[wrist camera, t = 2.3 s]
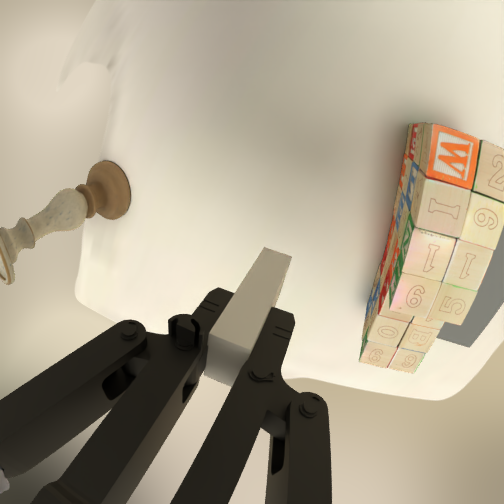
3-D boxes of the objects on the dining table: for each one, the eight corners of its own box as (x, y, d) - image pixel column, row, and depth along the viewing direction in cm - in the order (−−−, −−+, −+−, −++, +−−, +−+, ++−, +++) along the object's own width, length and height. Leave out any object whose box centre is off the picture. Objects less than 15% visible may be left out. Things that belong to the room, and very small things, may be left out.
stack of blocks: (412, 317, 29) (411, 399, 19) (365, 305, 31) (350, 386, 21) (465, 138, 19) (523, 156, 9) (407, 121, 21) (433, 121, 11)
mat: (485, 141, 18) (487, 142, 18) (553, 193, 16) (556, 195, 15) (399, 322, 31) (399, 326, 30) (468, 344, 29) (469, 347, 28)
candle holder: (91, 156, 34) (-28, 207, 17) (132, 166, 33) (-4, 230, 16) (92, 208, 39) (-9, 272, 22) (131, 224, 37) (20, 304, 21)
